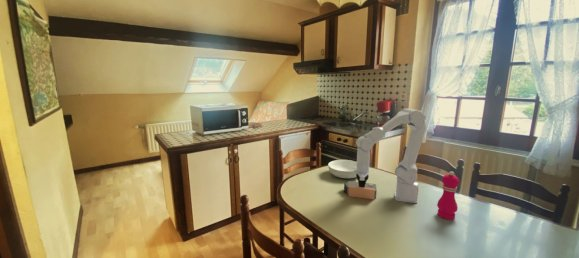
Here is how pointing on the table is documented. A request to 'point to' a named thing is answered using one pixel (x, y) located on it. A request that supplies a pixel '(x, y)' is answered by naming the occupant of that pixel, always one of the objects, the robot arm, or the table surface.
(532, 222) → the table surface
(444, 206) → the pepper mill
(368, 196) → the side door
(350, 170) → the serving bowl
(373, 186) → the camera housing
